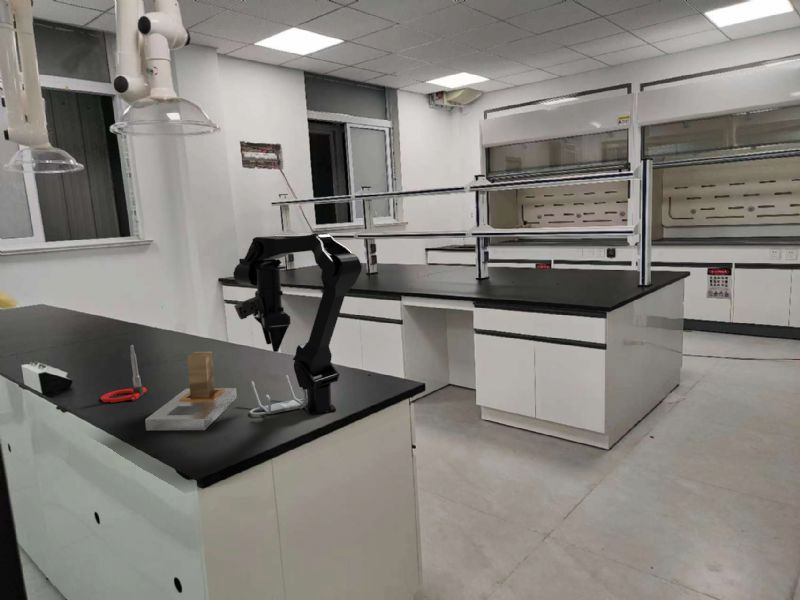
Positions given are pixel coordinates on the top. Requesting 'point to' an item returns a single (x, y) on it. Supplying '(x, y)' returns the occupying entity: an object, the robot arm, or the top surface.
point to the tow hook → (135, 392)
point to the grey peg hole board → (191, 411)
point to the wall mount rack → (279, 406)
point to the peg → (201, 375)
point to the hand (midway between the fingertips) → (272, 347)
